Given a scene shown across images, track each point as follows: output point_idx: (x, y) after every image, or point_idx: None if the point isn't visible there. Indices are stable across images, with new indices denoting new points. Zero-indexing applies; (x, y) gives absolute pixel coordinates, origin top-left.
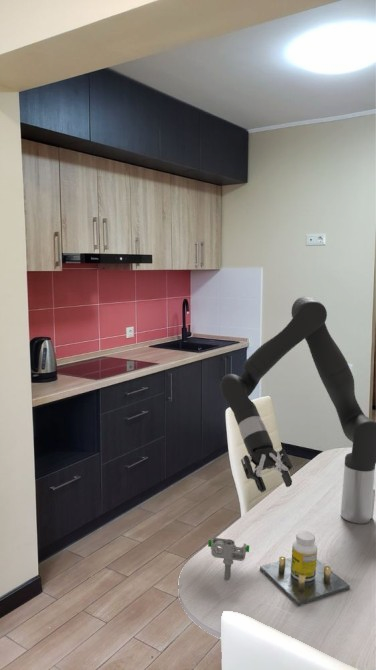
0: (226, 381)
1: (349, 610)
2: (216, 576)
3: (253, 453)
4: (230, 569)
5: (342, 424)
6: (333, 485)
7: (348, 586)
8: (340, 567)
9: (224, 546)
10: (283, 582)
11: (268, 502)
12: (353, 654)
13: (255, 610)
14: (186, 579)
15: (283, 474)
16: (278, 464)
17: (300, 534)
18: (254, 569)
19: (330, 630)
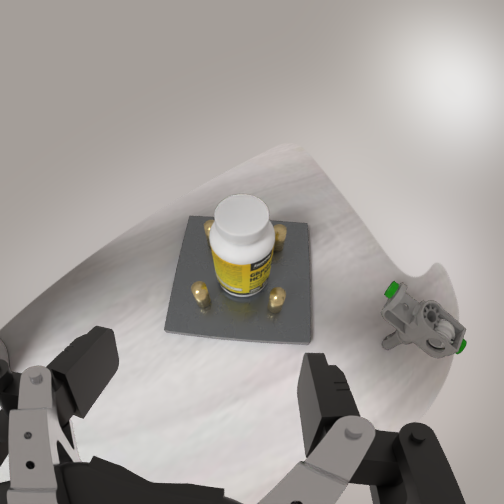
0: None
1: (236, 191)
2: (401, 358)
3: None
4: (395, 331)
5: None
6: None
7: (192, 216)
8: (145, 269)
9: (441, 312)
10: (298, 274)
11: None
12: (295, 151)
13: (376, 251)
14: (447, 367)
15: (77, 393)
16: (53, 429)
17: (253, 221)
18: (318, 351)
19: (294, 179)
